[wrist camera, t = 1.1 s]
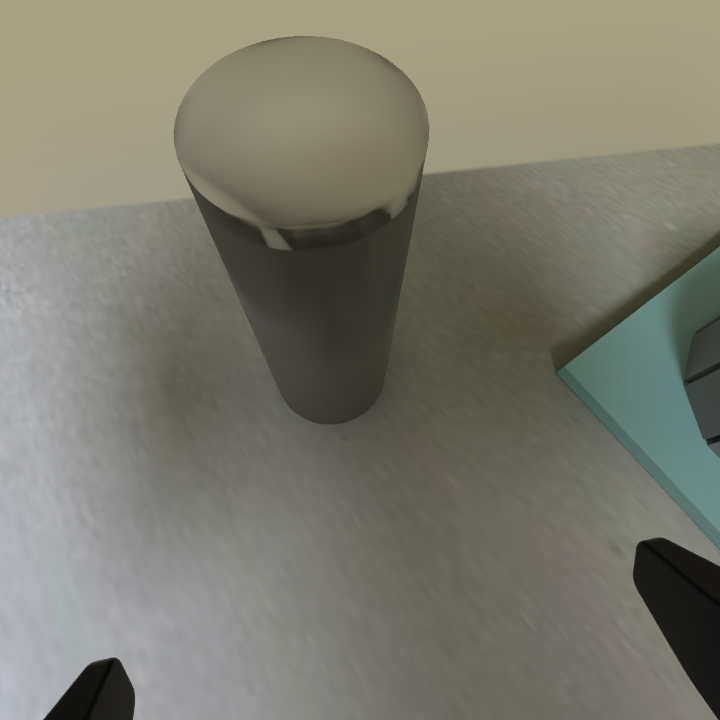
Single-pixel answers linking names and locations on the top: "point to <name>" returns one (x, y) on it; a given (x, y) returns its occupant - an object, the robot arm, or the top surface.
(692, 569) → the robot arm
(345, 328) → the plug
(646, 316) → the socket
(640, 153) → the top surface
